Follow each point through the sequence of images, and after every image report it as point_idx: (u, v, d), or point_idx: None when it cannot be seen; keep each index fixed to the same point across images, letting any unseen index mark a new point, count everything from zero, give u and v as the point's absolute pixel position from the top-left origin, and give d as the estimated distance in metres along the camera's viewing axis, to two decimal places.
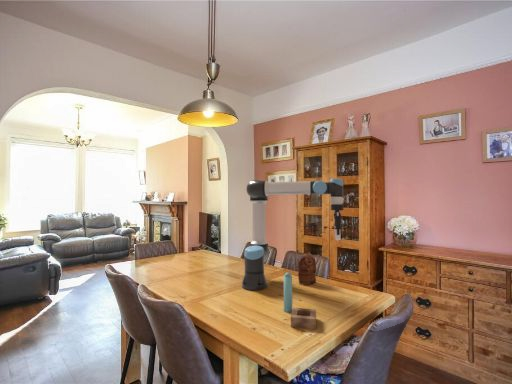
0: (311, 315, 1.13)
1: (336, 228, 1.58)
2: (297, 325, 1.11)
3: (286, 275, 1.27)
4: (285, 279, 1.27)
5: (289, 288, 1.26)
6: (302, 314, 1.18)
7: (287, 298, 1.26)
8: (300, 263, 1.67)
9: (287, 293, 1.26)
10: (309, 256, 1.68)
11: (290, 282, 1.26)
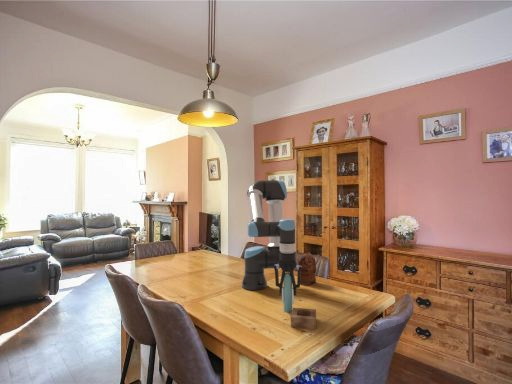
0: (311, 315, 1.13)
1: None
2: (297, 325, 1.11)
3: (286, 275, 1.27)
4: (285, 279, 1.27)
5: (289, 288, 1.26)
6: (302, 314, 1.18)
7: (287, 298, 1.26)
8: (300, 263, 1.67)
9: (287, 293, 1.26)
10: (309, 256, 1.68)
11: (290, 282, 1.26)
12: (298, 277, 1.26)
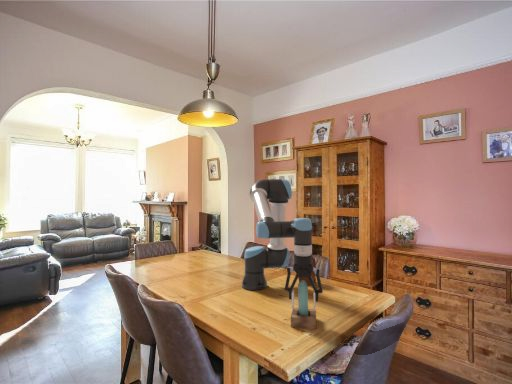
0: (311, 315, 1.13)
1: None
2: (297, 325, 1.11)
3: (301, 283, 1.15)
4: (300, 288, 1.14)
5: (305, 298, 1.14)
6: None
7: (303, 309, 1.14)
8: None
9: (302, 303, 1.14)
10: None
11: (305, 291, 1.14)
12: (318, 281, 1.13)
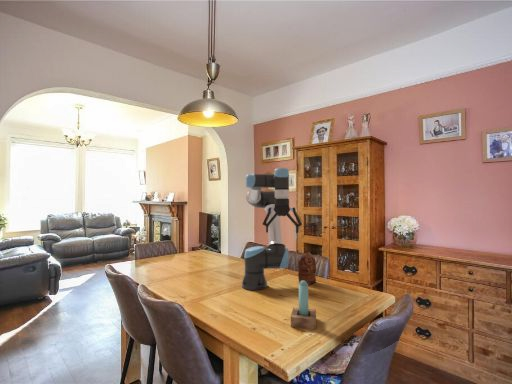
0: (311, 315, 1.13)
1: None
2: (297, 325, 1.11)
3: (302, 283, 1.15)
4: (301, 288, 1.14)
5: (305, 298, 1.14)
6: None
7: (303, 309, 1.14)
8: (300, 263, 1.67)
9: (302, 303, 1.14)
10: (309, 256, 1.68)
11: (306, 291, 1.14)
12: (296, 217, 1.38)
